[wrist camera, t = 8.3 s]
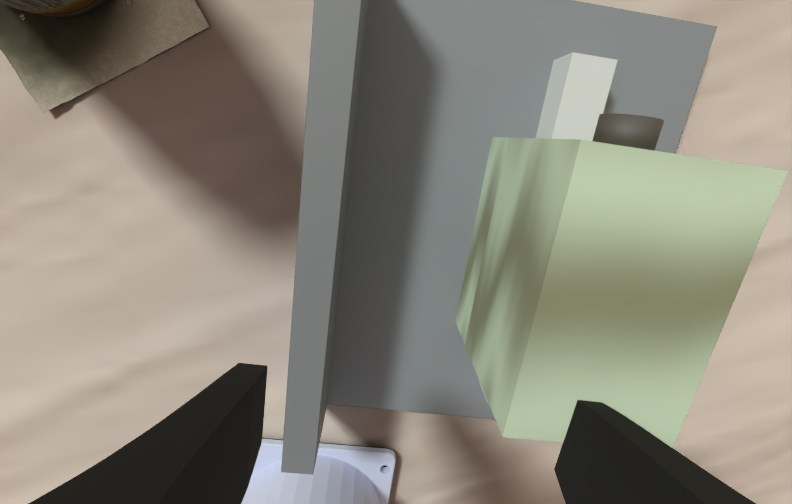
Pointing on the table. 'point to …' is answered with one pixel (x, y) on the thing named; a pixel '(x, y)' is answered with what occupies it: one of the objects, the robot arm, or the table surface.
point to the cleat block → (604, 274)
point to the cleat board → (439, 176)
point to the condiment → (88, 40)
